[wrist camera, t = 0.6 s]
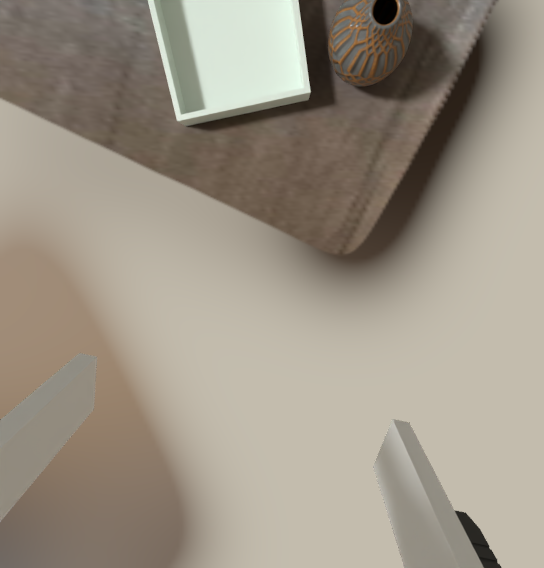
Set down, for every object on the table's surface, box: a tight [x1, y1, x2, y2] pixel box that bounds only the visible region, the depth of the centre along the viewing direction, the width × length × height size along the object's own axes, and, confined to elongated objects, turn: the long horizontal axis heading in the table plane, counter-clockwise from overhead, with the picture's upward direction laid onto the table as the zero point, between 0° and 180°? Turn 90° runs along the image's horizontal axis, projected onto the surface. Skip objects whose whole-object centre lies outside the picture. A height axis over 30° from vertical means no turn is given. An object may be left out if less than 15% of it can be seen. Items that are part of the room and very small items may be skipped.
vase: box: [328, 0, 413, 86], centre depth 28 cm, size 7×7×9 cm
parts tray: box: [148, 0, 311, 126], centre depth 31 cm, size 13×13×3 cm
